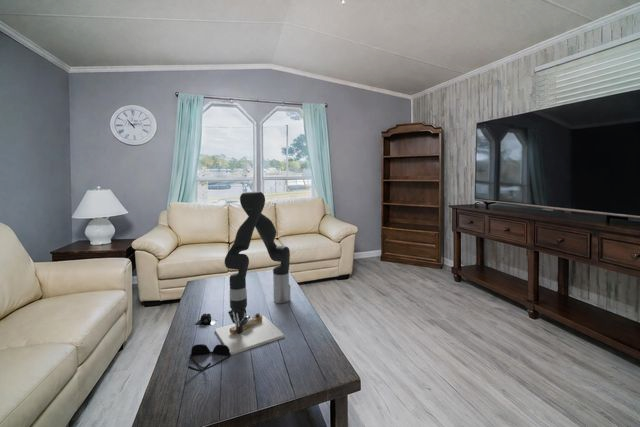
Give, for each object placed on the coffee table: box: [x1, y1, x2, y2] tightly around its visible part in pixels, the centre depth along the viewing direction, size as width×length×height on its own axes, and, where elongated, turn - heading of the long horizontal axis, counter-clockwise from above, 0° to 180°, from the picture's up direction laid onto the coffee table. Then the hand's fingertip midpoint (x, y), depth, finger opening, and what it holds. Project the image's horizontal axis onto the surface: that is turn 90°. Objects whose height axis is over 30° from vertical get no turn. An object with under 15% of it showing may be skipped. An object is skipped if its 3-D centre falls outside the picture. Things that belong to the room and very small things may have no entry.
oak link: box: [230, 312, 263, 335], centre depth 145 cm, size 18×4×3 cm, turn 144°
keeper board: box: [214, 315, 285, 356], centre depth 140 cm, size 25×24×6 cm
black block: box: [194, 313, 218, 326], centre depth 152 cm, size 12×7×5 cm, turn 85°
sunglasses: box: [187, 343, 232, 372], centre depth 118 cm, size 17×14×5 cm
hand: (239, 332), depth 137 cm, fingers closed
